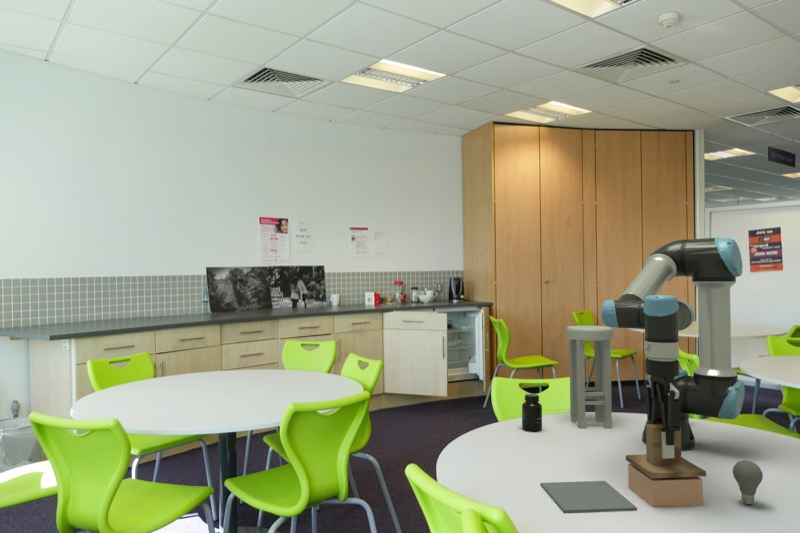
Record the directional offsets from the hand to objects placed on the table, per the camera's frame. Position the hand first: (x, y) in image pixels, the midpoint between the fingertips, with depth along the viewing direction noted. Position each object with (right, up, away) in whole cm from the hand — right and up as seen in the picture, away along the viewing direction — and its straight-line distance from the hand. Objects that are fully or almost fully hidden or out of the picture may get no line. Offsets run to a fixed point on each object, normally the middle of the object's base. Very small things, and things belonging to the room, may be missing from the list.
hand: (663, 455), depth 137 cm
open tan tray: (0, -10, 0) cm, 10 cm away
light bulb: (+17, -10, -5) cm, 21 cm away
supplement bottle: (-18, -11, +60) cm, 63 cm away
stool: (+5, -11, +66) cm, 67 cm away
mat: (-19, -10, -1) cm, 22 cm away
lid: (0, -3, 0) cm, 3 cm away
